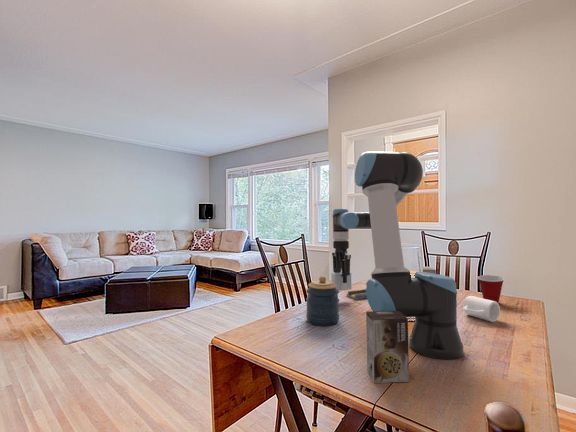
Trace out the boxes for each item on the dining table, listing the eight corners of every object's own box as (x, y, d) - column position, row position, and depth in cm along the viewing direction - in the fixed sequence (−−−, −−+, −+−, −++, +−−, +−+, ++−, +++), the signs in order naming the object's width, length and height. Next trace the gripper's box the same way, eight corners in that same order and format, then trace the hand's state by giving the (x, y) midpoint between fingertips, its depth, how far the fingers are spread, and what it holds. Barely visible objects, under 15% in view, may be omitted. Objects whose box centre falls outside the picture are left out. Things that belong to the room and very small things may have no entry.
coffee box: (399, 369, 82) (399, 310, 82) (409, 382, 76) (409, 318, 75) (365, 370, 82) (365, 310, 82) (373, 383, 75) (373, 318, 75)
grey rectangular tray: (355, 300, 149) (355, 294, 149) (346, 296, 156) (346, 291, 156) (382, 296, 155) (382, 291, 155) (372, 292, 163) (372, 288, 163)
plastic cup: (471, 300, 147) (471, 275, 147) (488, 298, 150) (488, 274, 150) (493, 306, 137) (492, 280, 137) (510, 304, 140) (510, 278, 140)
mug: (475, 313, 128) (475, 294, 128) (500, 320, 119) (500, 300, 119) (456, 317, 123) (456, 298, 123) (481, 325, 114) (481, 304, 114)
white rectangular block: (335, 291, 144) (335, 274, 144) (331, 289, 147) (331, 273, 148) (351, 289, 148) (351, 272, 148) (347, 287, 151) (347, 271, 151)
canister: (324, 313, 129) (324, 271, 129) (346, 322, 118) (346, 277, 118) (299, 319, 122) (299, 275, 122) (320, 329, 111) (319, 281, 111)
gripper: (357, 241, 142) (358, 291, 141) (338, 239, 157) (338, 284, 157) (343, 241, 139) (344, 293, 138) (325, 239, 154) (326, 286, 154)
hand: (341, 288), depth 147 cm, fingers closed on white rectangular block, 3 cm apart
